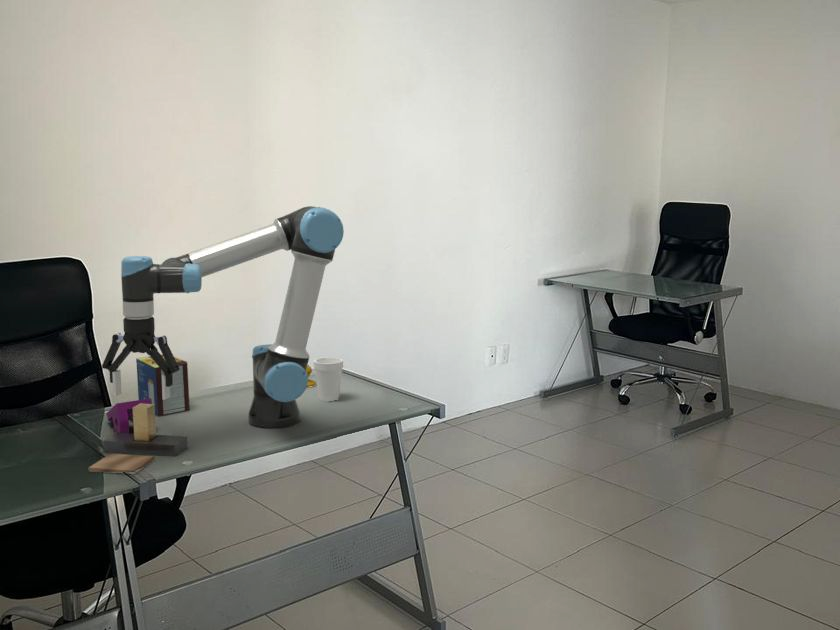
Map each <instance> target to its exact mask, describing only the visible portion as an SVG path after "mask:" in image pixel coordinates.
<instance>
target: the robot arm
mask: <svg viewBox="0 0 840 630" xmlns="http://www.w3.org/2000/svg"><path fill="white" fill-rule="evenodd" d="M344 231H345V229H344V224H343V222H342V220H341V219H340V217H339V216H338V214H336V213H335V212H333V211H332V210H331V209H329V208H325V207H321V206H311V205H310V206H305V207H304V206H303V207H301V208H299V209H297V210H295V211H292V212H290V213H289V214H285V215H283V216H281V217H278V218H275V219H274V221H273V223H271V224H269V225H267V226H263V227H260V228H258V229H255V230H251V231H249V232H246V233H242V234H240V235H237V236H234V237H231V238H228V239H225V240H222V241H220V242H217V243H215V244H212V245H209V246H208V245H207V246H205V247H203V248H199V249H197V250H194V251H190V252H188V253H186V254H181V255H180V256H176V257H170V258H166V259H165V260H164V261H162V263H161V264H158V263H154V261H153V259H152V257H150V256H146V255H145V256H144V255H143V256H142V255H134V256H133V255H132V256H131V255H130V256H126V257H123V258H122V260H121V271H120V272H121V273H120V277H121V293H122V295H121V297H122V316H124V318H123V320H122V323H123V332H124V334H121V332H118V333H116V334H115V333H114V334H113V335H112V337H111V344H110V347H109V349H108V351H107V353H106V355H105V358H104V360H103V362H102V364H101V368H102V369H104V370H105V369H106V370H107V371H108V373H109V383H111V384H112V393H113V397H118V396H120V395H122V375H121V374H122V373H121V369H119V367H120V366H121V365H122V363H123V362H124V361H125V360H126V358H128V356H129V355H130V354H131V353H133V354H134V353H135V354H136V353H138V354H139V353H140V354H145V353H146V354H147V355H148V356H151V358H152V359H153V360H154V361H155V362H156V364H157V365H158V366H159V367H160V369H161V370H162V371H163V372H164V374H163V375H162V400H166V399H168V398H169V397H170V386H172V384H173V378H172V374H173V373H175V372H177V371H179V369H180V368H179V366H178V364H177V362H176V360H175V358H174V357H175V356H174V354H173V351H171V348H170V346H169V344H168V339H167V338H168V337H167V336H166V335H162V336H156V335H155V330H156V329H155V318H154V315H155V308H154V307H155V305H154V300H155V299H154V294H179V293H180V294H181V293H182V294H190V293H198V292H200V291H201V290H202V286H203V284H202V281H203V280H202V278H203V277H207V276H209V275H212V274H215V273H216V274H217V273H219V272H221V271H224V270H227V269H229V268H232V267H235V266H237V265H241V264H243V263H246V262H249V261H252V260H255V259H258V258H260V257H264V256H266V255H268V254H272V253H275V252H277V251H280V250H284V251H287V252H288V251H290V252H291V253H292V256H293V257H294V261H293V265H292V270H291V275H290V278H289V282H288V286H287V291H286V296H285V299H284V304H283V306H282V307H283V308H282V313H281V316H280V320H279V325H278V329H277V334H276V337H275V341H274V343H269V344H268V343H267V344H259V345H256V346H254V347H253V349H252V355H251V358H252V376H253V377H252V379H253V380H252V381H253V382H252V383H253V397H252V401H251V404H250V407H249V410H248V414H247V417H248V418H247V419H248V421H247V422H248V423H249V424H250V426H253V427H259V428H266V429H269V428H270V429H272V428H273V429H275V428H285V427H290V426H292V425H295V424H297V423H299V421H300V420H301V412H300V409H299V407H298V402H297V399H299V398H300V397H301V396H302V395H303V394H305V392H306V389H308V388H307V385H308V379H309V377H307V376H308V375H307V373H306V369H307V365H309V360H310V354H309V352H308V351H307V344H308V341H309V338H310V332H311V329H312V328H311V327H312V324H313V320H314V316H315V312H316V307H317V304H318V303H317V302H318V298H319V295H320V290H321V287H322V283H323V279H324V274H325V269H326V266H327V265H328V264H330V263H332V262H333V260H334V256H335V252H336V249H337V248H338V247H339V246H340V244H341V243H342V241H343V238H344V233H345V232H344ZM122 342H124V344H125V346H124V347H123V349H122V351H121V352H119V353H120V354H119V355H117V353H118V351H119V348H120V346H121V344H122ZM155 343H156V345H157V346H158V347H159V350H158V348H157V347H156V345H155ZM159 351H160V352H161V353H160V352H159ZM162 354H163V356H164V358H165V359H164V358H163V357H162V356H161V355H162ZM116 355H117V357H116ZM115 358H116V359H115ZM165 360H166V361H165Z"/></svg>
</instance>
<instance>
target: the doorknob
mask: <svg viewBox="0 0 840 630" xmlns="http://www.w3.org/2000/svg"><path fill="white" fill-rule="evenodd" d="M312 372H313V369H312V366H310V365H309V364H308V365H307V369H306V373H307V375H308V376H307V377H308V385H307V387H309V386H314V385H315V384H316V385H317V381H316V380H313V379H309V377H310V376H311V374H312ZM316 385H315V386H316ZM315 386H314V387H315Z"/></svg>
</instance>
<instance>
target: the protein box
mask: <svg viewBox="0 0 840 630" xmlns="http://www.w3.org/2000/svg"><path fill="white" fill-rule="evenodd" d="M161 356H162V357H163V358H164V356H163V354H162V353H161ZM174 358H175V360H176V362H177V364H178V366H179V368H180V369H179V371H177V372H175V373H173V374H172V378H173V384H172V386H170V397H169V398H168V399H166V400H162V375H163V374H164V372H163V371H162V370H161V369H160V367H159V366H158V365H157V364H156V362H155V361H154V360H153V359H152V358H151V356H150V355H148V356H141V357H136V358H135V359H136V360H135V361H136V362H135V363H136V374H137V375H136V376H137V377H136V378H137V380H136V381H137V395H138V396H137V397H138V400H143V399H149V398H151V400H152V404H154V405H155V417H157V416H158V417H162V416H166V415H173V414H177V413H182V412H183V413H184V412H189V411H190V409H191V408H190V393H189V391H190V388H189V368H188V361H186V360H183V359H181V358H178V357H176V356H174ZM164 359H165V358H164ZM165 361H166V360H165Z"/></svg>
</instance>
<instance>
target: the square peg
mask: <svg viewBox="0 0 840 630" xmlns="http://www.w3.org/2000/svg"><path fill="white" fill-rule="evenodd" d="M132 421H133V423H132V424H133V433H134V441H139V442H151V441H152V440H153V439H155V438H156V435H157V427H156V426H157V425H156V415H155V405H154V404H143V403H140V404H138V405H137V406H135V407H133V418H132Z"/></svg>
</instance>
